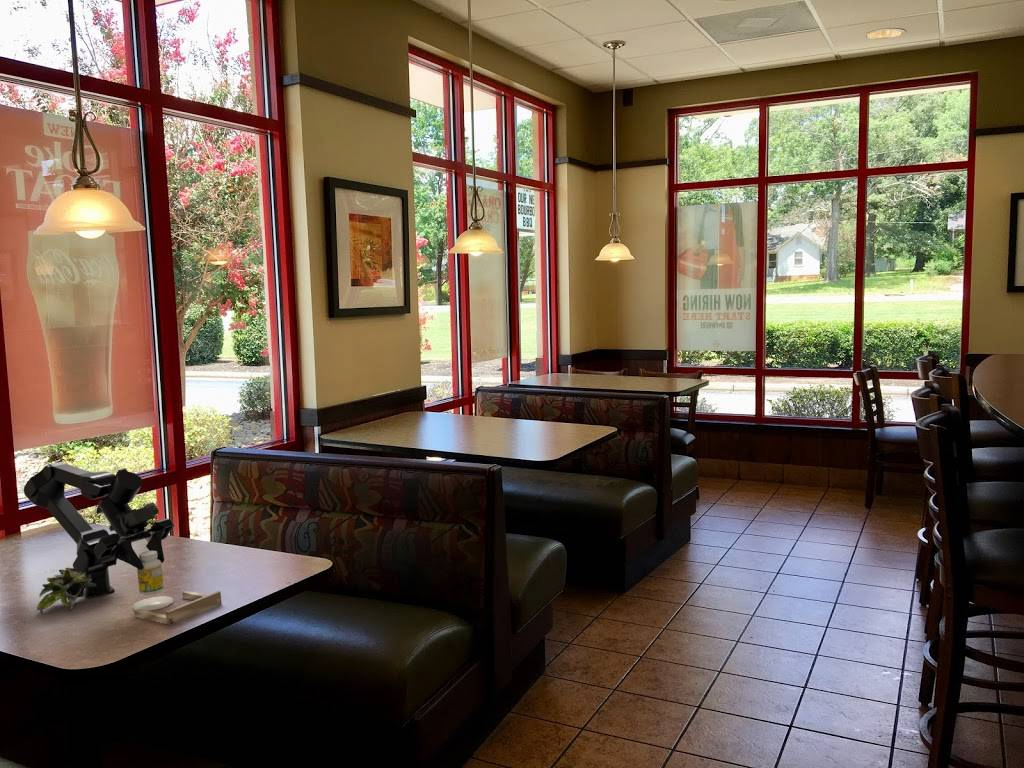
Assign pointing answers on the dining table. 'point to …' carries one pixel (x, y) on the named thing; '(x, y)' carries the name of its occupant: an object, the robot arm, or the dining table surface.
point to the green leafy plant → (65, 588)
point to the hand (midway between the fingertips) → (152, 565)
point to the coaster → (153, 603)
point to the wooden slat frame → (183, 608)
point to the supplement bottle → (150, 574)
